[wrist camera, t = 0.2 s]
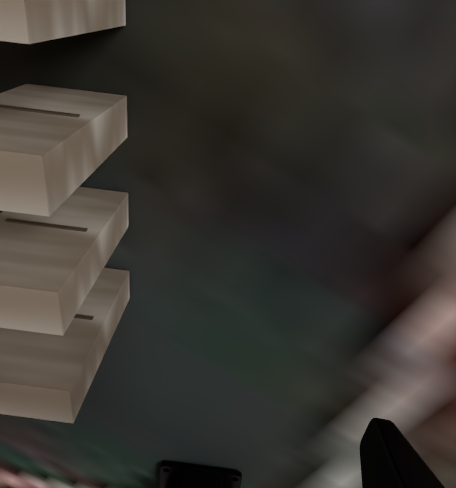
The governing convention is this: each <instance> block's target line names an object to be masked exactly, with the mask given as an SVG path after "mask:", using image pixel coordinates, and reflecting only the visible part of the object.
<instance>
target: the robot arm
mask: <svg viewBox="0 0 456 488" xmlns="http://www.w3.org/2000/svg"><path fill="white" fill-rule="evenodd" d="M360 460H361V473H362V486H363V488H445V487H444V486H443V485H442V484H441V482H440V481H439V480H438V479H437V477H436V476H435V475H434V473H433V472H432V471H431V470H430V468H429V467H428V466H427V465H426V463H425V462H424V461H423V460H422V458H421V457H420V456H419V455H418V453H417V452H416V451H415V450H414V448H413V447H412V446H411V444H410V443H409V442H408V441H407V439H406V438H405V437H404V436H403V434H402V433H401V432H400V431H399V429H398V428H397V427H396V426H395V424H394V423H393V422H391V421H390V420H385V419H379V418H373V419H372V420H371V421H370V423H369V425H368V427H367V429H366V431H365V433H364V435H363V437H362V440H361V443H360ZM241 480H242V474H241V472H239V471H235V470H227V469H220V468H212V467H204V466H197V465H189V464H182V463H174V462H162V463H161V467H160V480H159V488H240V485H241Z"/></svg>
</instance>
